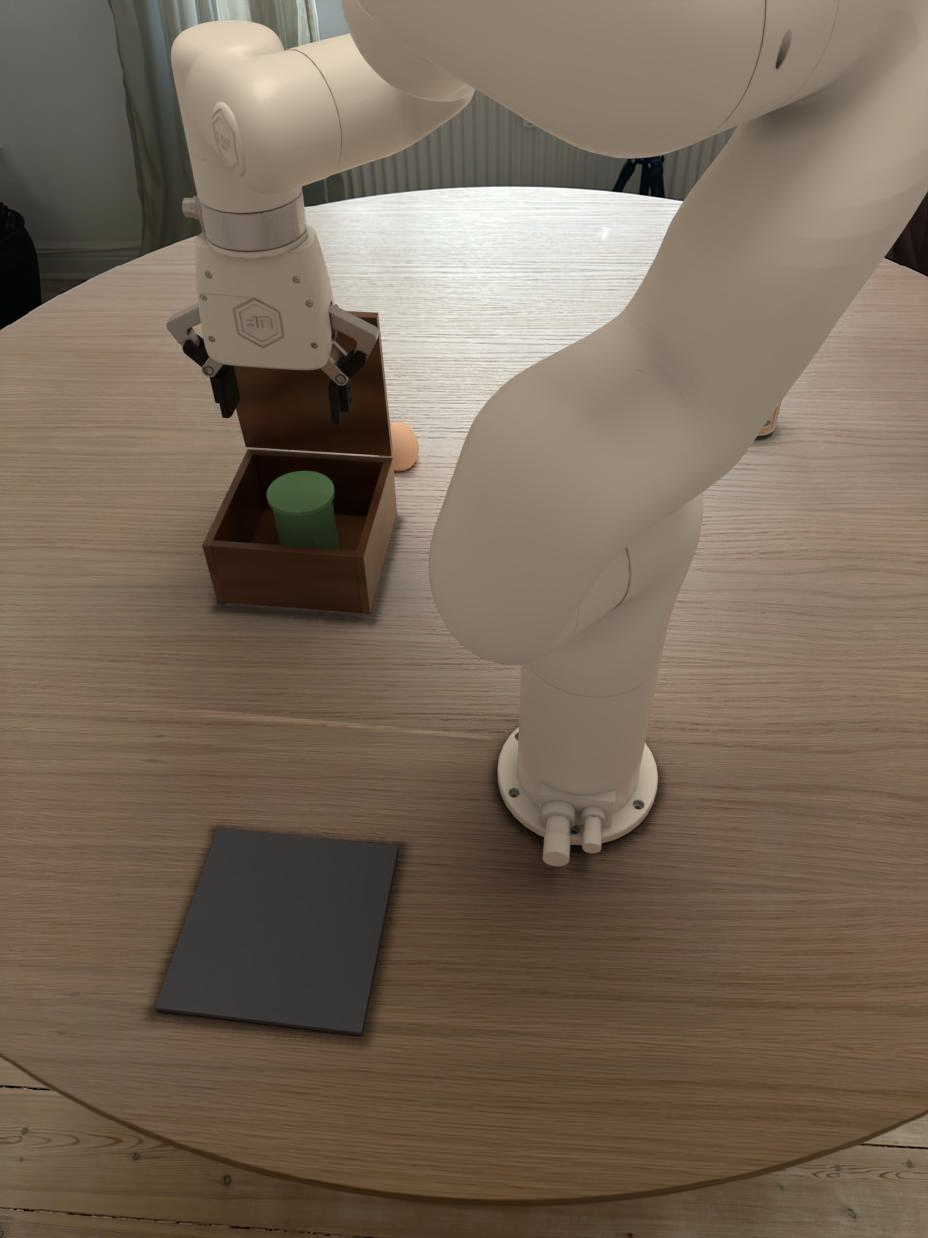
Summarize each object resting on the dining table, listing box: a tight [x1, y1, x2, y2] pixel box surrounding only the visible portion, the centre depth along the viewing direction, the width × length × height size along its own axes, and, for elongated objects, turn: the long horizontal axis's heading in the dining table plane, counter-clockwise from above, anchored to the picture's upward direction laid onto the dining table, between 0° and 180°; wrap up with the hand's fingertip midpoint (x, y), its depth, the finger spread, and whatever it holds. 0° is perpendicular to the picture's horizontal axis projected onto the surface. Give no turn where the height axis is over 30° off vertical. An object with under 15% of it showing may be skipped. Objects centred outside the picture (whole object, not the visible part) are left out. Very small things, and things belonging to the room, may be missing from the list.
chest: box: [202, 448, 398, 615], centre depth 94 cm, size 15×15×8 cm
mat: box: [154, 827, 399, 1036], centre depth 70 cm, size 14×14×1 cm
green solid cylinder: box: [267, 471, 339, 549], centre depth 93 cm, size 6×6×8 cm
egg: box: [378, 421, 420, 472], centre depth 105 cm, size 4×4×6 cm
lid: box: [234, 303, 393, 457], centre depth 91 cm, size 15×15×5 cm
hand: (285, 412), depth 85 cm, fingers open, 9 cm apart
